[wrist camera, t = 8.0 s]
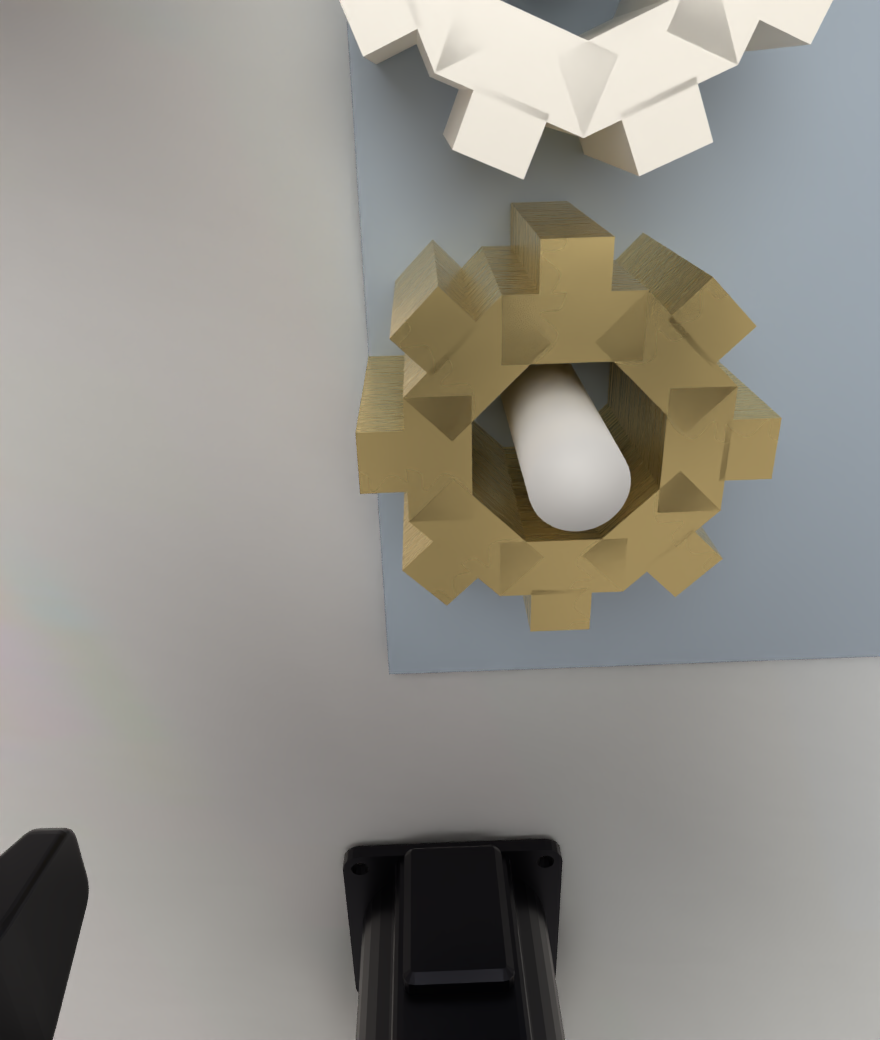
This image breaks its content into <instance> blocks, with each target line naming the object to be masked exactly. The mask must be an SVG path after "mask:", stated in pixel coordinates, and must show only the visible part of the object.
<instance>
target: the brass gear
mask: <svg viewBox="0 0 880 1040" xmlns="http://www.w3.org/2000/svg"><path fill="white" fill-rule="evenodd" d="M614 243H615V236H613V235H612V234H611V233H609V232H608V231H607V230H605V229H604V228H603V227H601V226H600V225H599V224H597V223H596V222H595V221H593V220H592V219H591V218H589V217H588V216H587V215H585V214H584V213H583V212H581V211H580V210H579V209H577V208H576V207H575V206H573V205H572V204H571V203H569V202H568V201H550V202H518V203H511V210H510V246H481V248H480V249H479V250H478V251H477V252H476V253H475V254H474V255H473V256H472V257H471V258H470V259H469V260H468V262H467V263H466V264H465V265H464V266H463V267H462V268H461V267H460V266H459V265H458V264H457V263H456V262H455V261H454V260H453V259H452V258H451V257H450V256H449V255H448V254H447V253H446V252H445V251H444V250H443V249H442V248H441V247H440V246H439V245H438V244H437V243H436V242H435V241H434V240H433V239H432V241H431V242H430V243H429V244H428V245H427V246H426V247H425V248H424V249H423V251H422V252H421V253H420V254H419V255H418V256H417V257H416V258H415V259H414V261H413V262H412V263H411V264H410V265H409V266H408V267H407V268H406V269H405V270H404V272H403V273H402V274H401V275H400V276H399V277H398V278H397V279H396V280H395V287H394V297H393V307H392V317H391V327H390V337H389V339H390V340H391V341H392V342H393V343H395V344H396V345H397V346H398V347H399V348H400V349H401V350H402V351H403V352H405V354H404V355H397V356H369V357H368V363H367V369H366V375H365V380H364V386H363V392H362V398H361V404H360V410H359V416H358V422H357V427H356V445H357V458H358V471H359V484H360V494H367V493H395V492H404V518H403V557H402V571H403V572H405V573H406V574H407V575H408V576H410V577H411V578H412V579H414V580H415V581H416V582H417V583H419V584H420V585H421V586H422V587H424V588H425V589H426V590H427V591H429V592H430V593H431V594H433V595H434V596H435V597H436V598H438V599H439V600H440V601H441V602H443V603H444V604H445V605H448V604H449V603H451V602H452V601H453V600H454V599H455V598H456V597H457V596H458V595H459V594H461V593H462V592H463V591H464V590H465V589H466V588H467V587H468V586H469V585H471V584H472V583H473V582H474V581H475V580H476V579H477V578H478V579H480V580H481V581H482V582H483V583H485V584H486V585H487V586H488V587H489V588H491V589H492V590H493V591H494V592H496V593H497V594H498V595H499V596H518V595H523V599H524V604H525V609H526V613H527V618H528V623H529V627H530V632H532V631H558V630H584V629H589V628H590V613H591V598H592V593H598V592H623V591H624V590H625V589H627V588H628V587H629V586H630V585H632V584H633V583H634V582H635V581H636V580H638V579H639V578H640V577H641V576H642V575H644V574H645V573H646V572H648V573H649V574H650V575H651V576H652V577H653V578H655V579H656V580H657V581H658V582H659V583H660V584H661V585H662V586H663V587H664V588H666V589H667V590H668V591H669V592H670V593H671V594H672V595H673V596H674V597H676V596H677V595H679V594H680V593H681V592H682V591H684V590H685V589H686V588H687V587H689V586H690V585H691V584H692V583H693V582H695V581H696V580H697V579H698V578H700V577H701V576H702V575H703V574H705V573H706V572H707V571H708V570H710V569H711V568H712V567H713V566H715V565H716V564H717V563H718V562H719V561H721V560H722V559H723V558H722V556H721V555H720V553H719V552H718V550H717V549H716V547H715V546H714V544H713V543H712V541H711V540H710V538H709V537H708V535H707V533H706V532H705V530H704V529H703V527H702V526H703V525H704V524H705V523H706V522H707V521H709V520H710V519H711V518H712V517H713V516H715V515H716V514H717V513H718V512H719V511H721V504H722V497H723V490H724V483H725V481H729V480H757V479H772V473H773V467H774V461H775V455H776V449H777V443H778V438H779V432H780V426H781V420H782V418H781V417H780V416H779V415H778V414H777V413H776V412H775V411H773V410H772V409H771V408H770V407H769V406H768V405H767V404H766V403H765V402H764V401H762V400H761V399H760V398H759V397H758V396H757V395H756V394H755V393H754V392H752V391H751V390H750V389H749V388H748V387H747V386H746V385H745V384H744V383H742V382H741V381H740V380H739V379H738V378H737V377H736V376H735V375H734V374H732V373H731V372H730V371H729V370H728V369H727V368H726V367H725V366H724V365H722V364H721V363H720V362H719V360H720V359H721V358H722V357H723V356H724V355H726V354H727V353H728V352H729V351H730V350H731V349H732V348H733V347H734V346H736V345H737V344H738V343H739V342H740V341H741V340H742V339H743V338H744V337H745V336H747V335H748V334H749V333H750V332H751V331H752V330H753V329H754V328H755V327H757V326H756V325H755V324H754V323H753V321H752V320H751V319H750V318H749V317H748V316H747V315H746V314H745V312H744V311H743V310H742V309H741V308H740V307H739V306H738V305H737V303H736V302H735V301H734V300H733V299H732V298H731V297H730V295H729V294H728V293H727V292H726V291H725V290H724V289H723V288H722V286H721V285H720V284H719V283H718V282H717V281H716V280H715V279H714V277H712V276H711V275H709V274H708V273H706V272H704V271H703V270H701V269H700V268H698V267H697V266H695V265H693V264H692V263H690V262H689V261H687V260H686V259H684V258H682V257H681V256H679V255H678V254H676V253H675V252H673V251H671V250H670V249H668V248H667V247H665V246H664V245H662V244H660V243H659V242H657V241H656V240H654V239H652V238H651V237H649V236H648V235H646V234H645V233H642V234H641V235H640V236H639V237H638V238H637V239H636V240H635V241H634V242H633V243H632V244H631V245H630V246H629V247H628V248H627V249H626V250H625V251H624V252H623V253H622V254H621V255H620V256H619V257H618V258H617V259H616V260H615V261H614V260H613V259H614ZM586 362H610V371H609V386H608V401H607V404H606V405H605V406H604V407H603V408H602V409H600V410H599V411H598V413H599V414H600V416H601V418H602V420H603V421H604V423H605V425H606V427H607V428H608V430H609V432H610V434H611V436H612V437H613V439H614V441H615V443H616V444H617V446H618V448H619V450H620V451H621V453H622V455H623V457H624V459H625V460H626V462H627V465H628V467H629V470H630V476H631V485H630V491H629V494H628V497H627V499H626V501H625V503H624V505H623V506H622V508H621V509H620V510H619V512H618V513H617V514H616V515H615V516H614V517H613V518H611V519H610V520H609V521H607V522H606V523H604V524H602V525H600V526H598V527H596V528H593V529H589V530H585V531H565V530H561V529H557V528H555V527H553V526H551V525H549V524H547V523H546V522H544V521H543V520H542V519H541V518H540V517H539V516H538V515H537V514H536V512H535V511H534V509H533V507H532V505H531V503H530V500H529V496H528V493H527V489H526V486H525V482H524V478H523V475H522V471H521V468H520V464H519V460H518V457H517V453H516V450H515V446H514V447H503V446H501V445H500V444H499V443H498V442H497V441H496V440H495V439H494V438H493V437H491V436H490V435H489V434H488V433H487V432H486V431H485V430H484V429H483V428H481V427H480V426H479V425H478V424H477V423H476V422H475V421H474V420H475V419H476V418H477V417H478V416H479V415H480V414H481V413H482V412H483V411H484V410H485V409H486V408H487V407H488V406H489V405H490V404H491V403H492V402H493V401H494V400H495V399H496V398H497V397H498V396H499V395H500V394H501V393H502V392H503V391H504V390H505V389H506V388H507V387H508V386H509V385H510V384H511V383H512V382H513V381H514V380H515V379H516V378H517V377H518V376H519V375H520V374H521V373H522V372H523V371H524V370H525V369H526V368H527V367H528V366H529V365H530V364H557V363H586Z"/></svg>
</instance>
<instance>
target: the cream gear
mask: <svg viewBox="0 0 880 1040" xmlns="http://www.w3.org/2000/svg"><path fill="white" fill-rule="evenodd" d="M339 1H340V4H341V6H342V8H343V11H344V13H345V15H346V18H347V20H348V22H349V25H350V27H351V29H352V32H353V34H354V36H355V39H356V41H357V43H358V46H359V48H360V51H361V53H362V55H363V57H364V58H366V59H368V60H369V61H371V62H373V63H375V64H378V63H380V62H382V61H384V60H386V59H388V58H390V57H392V56H394V55H396V54H398V53H400V52H402V51H404V50H406V49H408V48H410V47H412V46H414V45H416V44H417V46H418V49H419V51H420V54H421V56H422V59H423V61H424V64H425V66H426V69H427V71H428V74H429V77H431V78H434V79H436V80H438V81H440V82H443V83H445V84H447V85H450V86H452V87H454V88H457V89H459V90H458V93H457V95H456V98H455V101H454V104H453V107H452V110H451V112H450V115H449V118H448V121H447V124H446V127H445V129H444V132H443V135H444V137H445V139H446V140H447V142H448V144H449V145H450V147H451V149H452V150H454V151H457V152H459V153H461V154H464V155H466V156H468V157H471V158H473V159H476V160H478V161H480V162H483V163H485V164H488V165H490V166H492V167H495V168H497V169H499V170H502V171H504V172H507V173H509V174H511V175H514V176H516V177H518V178H521V179H523V180H524V177H525V175H526V172H527V170H528V167H529V165H530V162H531V160H532V157H533V155H534V152H535V150H536V147H537V145H538V142H539V140H540V137H541V135H542V132H543V130H544V127H548V128H551V129H555V130H558V131H561V132H565V133H568V134H571V135H575V136H578V137H579V140H580V143H581V146H582V149H583V152H584V155H587V156H589V157H592V158H594V159H597V160H599V161H602V162H604V163H607V164H610V165H612V166H615V167H617V168H620V169H622V170H625V171H627V172H630V173H632V174H635V175H637V176H641V175H643V174H645V173H647V172H650V171H652V170H654V169H656V168H658V167H660V166H663V165H665V164H667V163H669V162H671V161H673V160H676V159H678V158H680V157H682V156H684V155H686V154H689V153H691V152H693V151H695V150H697V149H699V148H702V147H704V146H706V145H708V144H710V143H713V139H712V135H711V132H710V128H709V124H708V120H707V117H706V113H705V109H704V105H703V102H702V98H701V94H700V90H699V87H698V84H699V83H701V82H703V81H705V80H707V79H709V78H711V77H713V76H716V75H718V74H720V73H722V72H724V71H726V70H728V69H730V68H732V67H735V66H737V65H738V64H739V62H740V60H741V57H742V55H743V53H744V52H746V51H755V50H765V49H774V48H783V47H792V46H802V45H811V43H812V41H813V39H814V37H815V35H816V33H817V31H818V29H819V27H820V25H821V23H822V21H823V19H824V17H825V15H826V13H827V11H828V9H829V7H830V5H831V3H832V1H833V0H620V3H619V5H618V7H617V10H616V12H615V15H614V17H613V19H611V20H609V21H607V22H605V23H602V24H600V25H598V26H596V27H594V28H592V29H590V30H588V31H586V32H584V33H582V34H580V35H578V36H577V35H575V34H572V33H570V32H568V31H566V30H564V29H562V28H559V27H557V26H555V25H553V24H551V23H549V22H546V21H544V20H542V19H540V18H538V17H536V16H533V15H531V14H529V13H527V12H525V11H523V10H520V9H518V8H516V7H514V6H512V5H510V4H507V3H505V2H503V1H501V0H339Z"/></svg>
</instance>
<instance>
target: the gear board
mask: <svg viewBox="0 0 880 1040" xmlns="http://www.w3.org/2000/svg"><path fill="white" fill-rule="evenodd" d="M501 1H503V2H505V3H507V4H510V5H512V6H514V7H516V8H518V9H520V10H523V11H525V12H527V13H529V14H531V15H533V16H536V17H538V18H540V19H542V20H544V21H546V22H549V23H551V24H553V25H555V26H557V27H559V28H562V29H564V30H566V31H568V32H570V33H572V34H575V35H577V36H578V35H580V34H582V33H584V32H586V31H588V30H590V29H592V28H594V27H596V26H598V25H600V24H602V23H605V22H607V21H609V20H611V19H613V17H614V15H615V12H616V10H617V7H618V5H619V3H620V0H501ZM347 28H348V43H349V59H350V74H351V90H352V105H353V121H354V136H355V152H356V167H357V183H358V198H359V213H360V229H361V244H362V260H363V275H364V291H365V306H366V322H367V337H368V353H369V356H397V355H404V354H405V352H403V351H402V350H401V349H400V348H399V347H398V346H397V345H396V344H395V343H393V342H392V341H391V340H390V339H389V337H390V327H391V317H392V307H393V297H394V287H395V280H396V279H397V278H398V277H399V276H400V275H401V274H402V273H403V272H404V270H405V269H406V268H407V267H408V266H409V265H410V264H411V263H412V262H413V261H414V259H415V258H416V257H417V256H418V255H419V254H420V253H421V252H422V251H423V249H424V248H425V247H426V246H427V245H428V244H429V243H430V242H431V241H432V239H433V240H434V241H435V242H436V243H437V244H438V245H439V246H440V247H441V248H442V249H443V250H444V251H445V252H446V253H447V254H448V255H449V256H450V257H451V258H452V259H453V260H454V261H455V262H456V263H457V264H458V265H459V266H460V267H461V268H462V267H463V266H464V265H465V264H466V263H467V262H468V260H469V259H470V258H471V257H472V256H473V255H474V254H475V253H476V252H477V251H478V250H479V249H480V248H481V246H510V210H511V203H518V202H550V201H568V202H569V203H571V204H572V205H573V206H575V207H576V208H577V209H579V210H580V211H581V212H583V213H584V214H585V215H587V216H588V217H589V218H591V219H592V220H593V221H595V222H596V223H597V224H599V225H600V226H601V227H603V228H604V229H605V230H607V231H608V232H609V233H611V234H612V235H613V236H615V243H614V259H613V260H614V261H615V260H616V259H617V258H618V257H619V256H620V255H621V254H622V253H623V252H624V251H625V250H626V249H627V248H628V247H629V246H630V245H631V244H632V243H633V242H634V241H635V240H636V239H637V238H638V237H639V236H640V235H641V234H642V233H645V234H646V235H648V236H649V237H651V238H652V239H654V240H656V241H657V242H659V243H660V244H662V245H664V246H665V247H667V248H668V249H670V250H671V251H673V252H675V253H676V254H678V255H679V256H681V257H682V258H684V259H686V260H687V261H689V262H690V263H692V264H693V265H695V266H697V267H698V268H700V269H701V270H703V271H704V272H706V273H708V274H709V275H711V276H712V277H714V279H715V280H716V281H717V282H718V283H719V284H720V285H721V286H722V288H723V289H724V290H725V291H726V292H727V293H728V294H729V295H730V297H731V298H732V299H733V300H734V301H735V302H736V303H737V305H738V306H739V307H740V308H741V309H742V310H743V311H744V312H745V314H746V315H747V316H748V317H749V318H750V319H751V320H752V321H753V323H754V324H755V325H756V326H757V327H755V328H754V329H753V330H752V331H751V332H750V333H749V334H748V335H747V336H745V337H744V338H743V339H742V340H741V341H740V342H739V343H738V344H737V345H736V346H734V347H733V348H732V349H731V350H730V351H729V352H728V353H727V354H726V355H724V356H723V357H722V358H721V359H720V360H719V362H720V363H721V364H722V365H724V366H725V367H726V368H727V369H728V370H729V371H730V372H731V373H732V374H734V375H735V376H736V377H737V378H738V379H739V380H740V381H741V382H742V383H744V384H745V385H746V386H747V387H748V388H749V389H750V390H751V391H752V392H754V393H755V394H756V395H757V396H758V397H759V398H760V399H761V400H762V401H764V402H765V403H766V404H767V405H768V406H769V407H770V408H771V409H772V410H773V411H775V412H776V413H777V414H778V415H779V416H780V417H781V418H782V420H781V426H780V432H779V438H778V443H777V449H776V455H775V461H774V467H773V473H772V479H757V480H729V481H725V483H724V490H723V497H722V504H721V511H719V512H718V513H717V514H716V515H715V516H713V517H712V518H711V519H710V520H709V521H707V522H706V523H705V524H704V525H703V526H702V527H703V529H704V530H705V532H706V533H707V535H708V537H709V538H710V540H711V541H712V543H713V544H714V546H715V547H716V549H717V550H718V552H719V553H720V555H721V556H722V558H723V559H722V560H721V561H719V562H718V563H717V564H716V565H715V566H713V567H712V568H711V569H710V570H708V571H707V572H706V573H705V574H703V575H702V576H701V577H700V578H698V579H697V580H696V581H695V582H693V583H692V584H691V585H690V586H689V587H687V588H686V589H685V590H684V591H682V592H681V593H680V594H679V595H677V596H676V597H674V596H673V595H672V594H671V593H670V592H669V591H668V590H667V589H666V588H664V587H663V586H662V585H661V584H660V583H659V582H658V581H657V580H656V579H655V578H653V577H652V576H651V575H650V574H649V573H648V572H646V573H645V574H644V575H642V576H641V577H640V578H639V579H638V580H636V581H635V582H634V583H633V584H632V585H630V586H629V587H628V588H627V589H625V590H624V591H623V592H598V593H592V598H591V613H590V628H589V629H584V630H558V631H532V632H530V627H529V623H528V618H527V613H526V609H525V604H524V599H523V595H518V596H499V595H498V594H497V593H496V592H494V591H493V590H492V589H491V588H489V587H488V586H487V585H486V584H485V583H483V582H482V581H481V580H480V579H478V578H477V579H476V580H475V581H474V582H473V583H472V584H471V585H469V586H468V587H467V588H466V589H465V590H464V591H463V592H462V593H461V594H459V595H458V596H457V597H456V598H455V599H454V600H453V601H452V602H451V603H449V604H448V605H445V604H444V603H443V602H441V601H440V600H439V599H438V598H436V597H435V596H434V595H433V594H431V593H430V592H429V591H427V590H426V589H425V588H424V587H422V586H421V585H420V584H419V583H417V582H416V581H415V580H414V579H412V578H411V577H410V576H408V575H407V574H406V573H405V572H403V571H402V557H403V518H404V492H395V493H378V507H379V523H380V538H381V553H382V569H383V584H384V600H385V615H386V631H387V646H388V662H389V674H410V673H438V672H465V671H492V670H520V669H547V668H575V667H602V666H629V665H657V664H684V663H712V662H739V661H766V660H794V659H821V658H848V657H876V656H880V0H833V1H832V3H831V5H830V7H829V9H828V11H827V13H826V15H825V17H824V19H823V21H822V23H821V25H820V27H819V29H818V31H817V33H816V35H815V37H814V39H813V41H812V43H811V45H802V46H792V47H783V48H774V49H765V50H755V51H746V52H744V53H743V55H742V57H741V60H740V62H739V64H738V65H737V66H735V67H732V68H730V69H728V70H726V71H724V72H722V73H720V74H718V75H716V76H713V77H711V78H709V79H707V80H705V81H703V82H701V83H699V84H698V87H699V90H700V94H701V98H702V102H703V105H704V109H705V113H706V117H707V120H708V124H709V128H710V132H711V135H712V139H713V143H710V144H708V145H706V146H704V147H702V148H699V149H697V150H695V151H693V152H691V153H689V154H686V155H684V156H682V157H680V158H678V159H676V160H673V161H671V162H669V163H667V164H665V165H663V166H660V167H658V168H656V169H654V170H652V171H650V172H647V173H645V174H643V175H641V176H637V175H635V174H632V173H630V172H627V171H625V170H622V169H620V168H617V167H615V166H612V165H610V164H607V163H604V162H602V161H599V160H597V159H594V158H592V157H589V156H587V155H584V152H583V149H582V146H581V143H580V140H579V137H578V136H575V135H571V134H568V133H565V132H561V131H558V130H555V129H551V128H548V127H544V130H543V132H542V135H541V137H540V140H539V142H538V145H537V147H536V150H535V152H534V155H533V157H532V160H531V162H530V165H529V167H528V170H527V172H526V175H525V177H524V180H523V179H521V178H518V177H516V176H514V175H511V174H509V173H507V172H504V171H502V170H499V169H497V168H495V167H492V166H490V165H488V164H485V163H483V162H480V161H478V160H476V159H473V158H471V157H468V156H466V155H464V154H461V153H459V152H457V151H454V150H452V149H451V147H450V145H449V144H448V142H447V140H446V139H445V137H444V135H443V132H444V129H445V127H446V124H447V121H448V118H449V115H450V112H451V110H452V107H453V104H454V101H455V98H456V95H457V93H458V90H459V89H457V88H454V87H452V86H450V85H447V84H445V83H443V82H440V81H438V80H436V79H434V78H431V77H429V74H428V71H427V69H426V66H425V64H424V61H423V59H422V56H421V54H420V51H419V49H418V46H417V44H416V45H414V46H412V47H410V48H408V49H406V50H404V51H402V52H400V53H398V54H396V55H394V56H392V57H390V58H388V59H386V60H384V61H382V62H380V63H378V64H375V63H373V62H371V61H369V60H368V59H366V58H364V57H363V55H362V53H361V51H360V48H359V46H358V43H357V41H356V39H355V36H354V34H353V32H352V29H351V27H350V25H349V22H348V20H347ZM609 371H610V362H586V363H557V364H530V365H529V366H528V367H527V368H526V369H525V370H524V371H523V372H522V373H521V374H520V375H519V376H518V377H517V378H516V379H515V380H514V381H513V382H512V383H511V384H510V385H509V386H508V387H507V388H506V389H505V390H504V391H503V392H502V393H501V394H500V395H499V396H498V397H497V398H496V399H495V400H494V401H493V402H492V403H491V404H490V405H489V406H488V407H487V408H486V409H485V410H484V411H483V412H482V413H481V414H480V415H479V416H478V417H477V418H476V419H475V420H474V421H475V422H476V423H477V424H478V425H479V426H480V427H481V428H483V429H484V430H485V431H486V432H487V433H488V434H489V435H490V436H491V437H493V438H494V439H495V440H496V441H497V442H498V443H499V444H500V445H501V446H503V447H514V446H515V450H516V453H517V457H518V460H519V464H520V468H521V471H522V475H523V478H524V482H525V486H526V489H527V493H528V496H529V500H530V503H531V505H532V507H533V509H534V511H535V512H536V514H537V515H538V516H539V517H540V518H541V519H542V520H543V521H544V522H546V523H547V524H549V525H551V526H553V527H555V528H557V529H561V530H565V531H585V530H589V529H593V528H596V527H598V526H600V525H602V524H604V523H606V522H607V521H609V520H610V519H611V518H613V517H614V516H615V515H616V514H617V513H618V512H619V510H620V509H621V508H622V506H623V505H624V503H625V501H626V499H627V497H628V494H629V491H630V485H631V476H630V470H629V467H628V465H627V462H626V460H625V459H624V457H623V455H622V453H621V451H620V450H619V448H618V446H617V444H616V443H615V441H614V439H613V437H612V436H611V434H610V432H609V430H608V428H607V427H606V425H605V423H604V421H603V420H602V418H601V416H600V414H599V413H598V411H599V410H600V409H602V408H603V407H604V406H605V405H606V404H607V401H608V386H609Z"/></svg>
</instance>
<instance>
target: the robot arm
mask: <svg viewBox="0 0 880 1040" xmlns="http://www.w3.org/2000/svg"><path fill="white" fill-rule="evenodd" d="M542 856H546V857H542ZM357 863H363V864H357ZM343 874H344V883H345V892H346V901H347V910H348V919H349V928H350V937H351V946H352V955H353V964H354V973H355V982H356V989H357V991H358V992H359V996H358V1012H357V1028H356V1040H565V1037H564V1030H563V1024H562V1018H561V1011H560V1005H559V999H558V992H557V986H556V980H555V977H556V960H557V943H558V926H559V910H560V893H561V876H562V857H561V851H560V847H559V845H558V844H557V843H556V842H555V841H552V840H549V839H532V840H506V841H481V842H455V843H430V844H404V845H378V846H358V847H353V848H351V849H349V850H348V851H347V852H346V853H345V856H344V865H343ZM88 893H89V885H88V878H87V874H86V871H85V867H84V863H83V860H82V856H81V853H80V849H79V845H78V842H77V838H76V836H75V833H74V832H73V831H72V830H71V829H68V828H39V829H34V830H31V831H29V832H28V833H26V834H25V835H24V836H22V837H21V838H20V839H19V840H18V841H17V842H16V843H14V844H13V845H12V846H11V847H10V848H9V849H7V850H6V851H5V852H4V853H3V854H2V855H1V856H0V1040H53V1037H54V1033H55V1029H56V1026H57V1022H58V1018H59V1014H60V1010H61V1006H62V1002H63V998H64V994H65V990H66V986H67V982H68V978H69V974H70V970H71V966H72V962H73V958H74V954H75V950H76V946H77V942H78V938H79V934H80V930H81V926H82V922H83V918H84V914H85V910H86V906H87V902H88Z"/></svg>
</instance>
